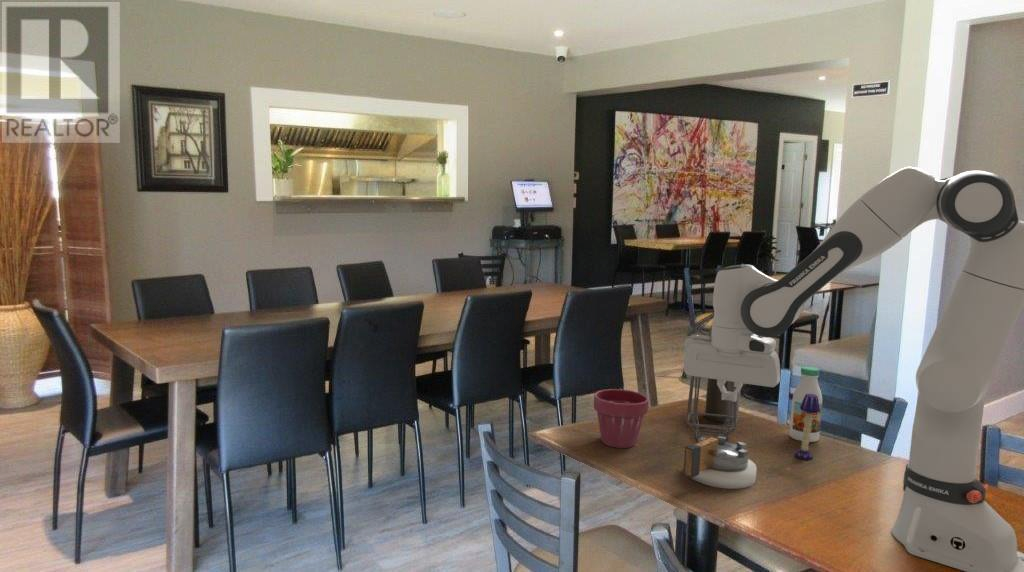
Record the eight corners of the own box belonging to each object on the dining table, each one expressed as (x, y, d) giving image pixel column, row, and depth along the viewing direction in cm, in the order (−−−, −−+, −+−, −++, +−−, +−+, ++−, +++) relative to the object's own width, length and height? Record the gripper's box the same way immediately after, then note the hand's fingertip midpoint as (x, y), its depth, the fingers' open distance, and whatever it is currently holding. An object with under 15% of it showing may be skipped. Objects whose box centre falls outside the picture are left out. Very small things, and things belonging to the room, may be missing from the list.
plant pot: (645, 435, 192) (647, 390, 190) (646, 453, 178) (649, 405, 177) (593, 431, 194) (595, 386, 192) (590, 449, 180) (593, 401, 179)
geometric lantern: (680, 442, 187) (687, 314, 183) (683, 426, 202) (689, 306, 198) (742, 449, 183) (750, 318, 179) (740, 432, 198) (748, 310, 194)
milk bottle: (783, 435, 196) (788, 365, 193) (803, 431, 199) (809, 363, 196) (804, 444, 189) (811, 372, 186) (825, 440, 192) (831, 370, 189)
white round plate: (769, 478, 165) (770, 465, 165) (729, 494, 155) (730, 481, 155) (712, 457, 177) (713, 445, 177) (672, 471, 167) (672, 458, 167)
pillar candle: (705, 420, 206) (709, 371, 204) (704, 410, 216) (708, 363, 214) (739, 424, 204) (744, 374, 202) (737, 414, 214) (741, 366, 211)
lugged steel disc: (711, 448, 174) (713, 421, 173) (756, 462, 166) (759, 434, 165) (664, 470, 160) (666, 440, 159) (711, 487, 151) (714, 455, 150)
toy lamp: (811, 454, 181) (817, 392, 179) (817, 461, 176) (823, 398, 174) (792, 453, 182) (798, 391, 179) (798, 460, 177) (803, 396, 175)
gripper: (680, 335, 154) (678, 396, 156) (778, 346, 143) (774, 411, 145) (689, 331, 159) (687, 390, 161) (783, 341, 149) (780, 404, 150)
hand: (729, 400), depth 153 cm, fingers closed
